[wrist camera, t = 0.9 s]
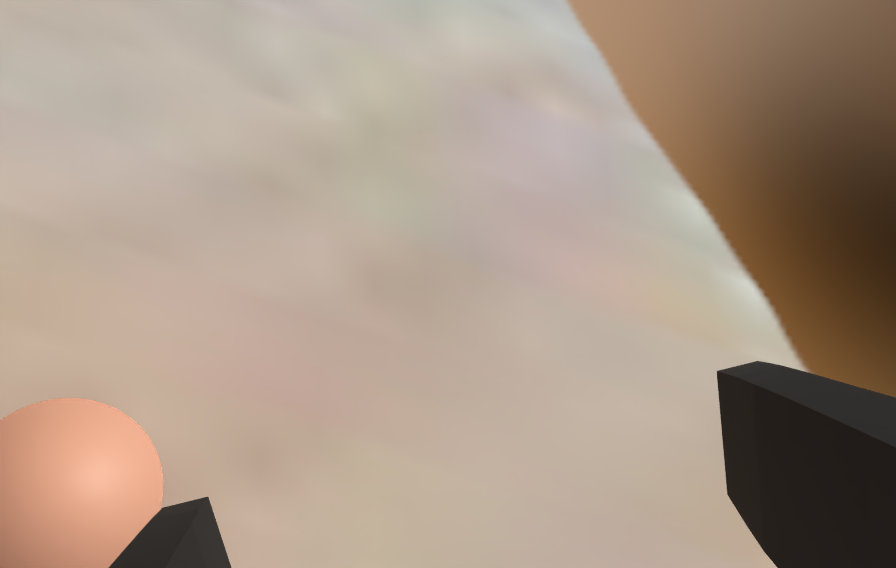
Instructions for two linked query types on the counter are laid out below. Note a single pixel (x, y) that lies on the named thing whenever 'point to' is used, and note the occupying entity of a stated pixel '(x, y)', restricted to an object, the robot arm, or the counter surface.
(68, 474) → the peach ball
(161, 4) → the counter surface
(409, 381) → the counter surface
